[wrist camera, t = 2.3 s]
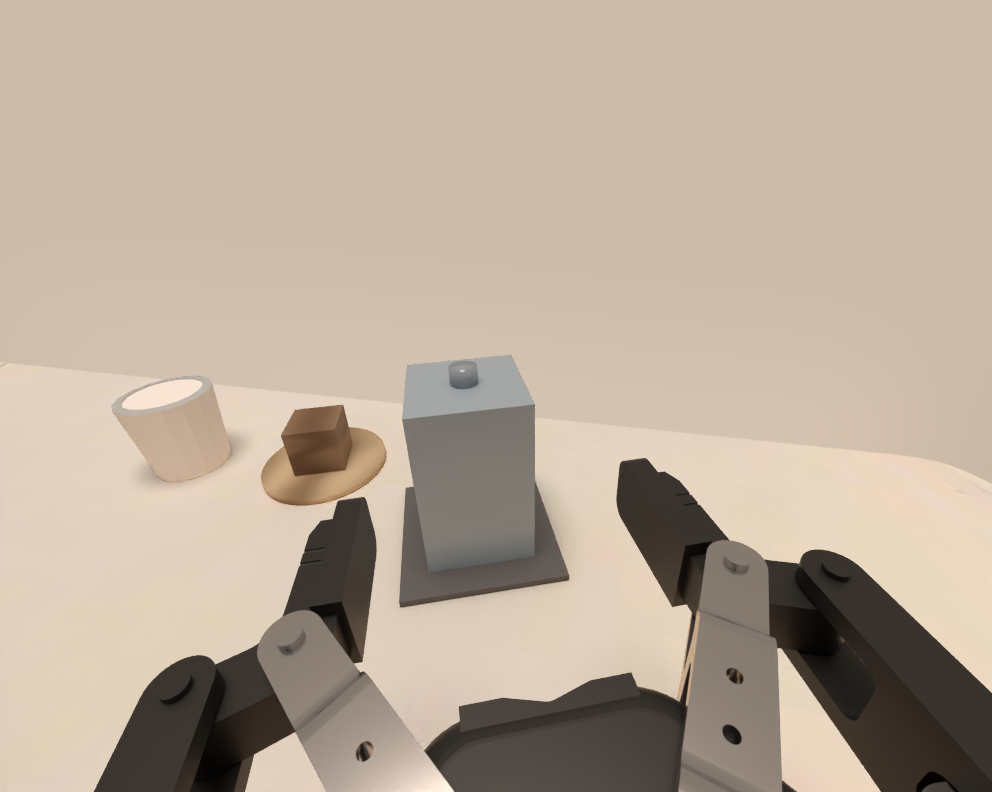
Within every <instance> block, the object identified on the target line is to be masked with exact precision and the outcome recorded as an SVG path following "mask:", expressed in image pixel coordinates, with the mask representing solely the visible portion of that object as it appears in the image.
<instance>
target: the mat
mask: <svg viewBox="0 0 992 792" xmlns="http://www.w3.org/2000/svg"><path fill="white" fill-rule="evenodd" d="M563 580H569V574H568V571H567V568H566V566H565V563H564V560H563V557H562V554H561V552H560V549H559V546H558V543H557V541H556V538H555V535H554V532H553V529H552V527H551V524H550V521H549V518H548V516H547V513H546V510H545V507H544V505H543V502H542V499H541V496H540V493H539V491H538V488H537V485H536V482H535V557H530V558H523V559H517V560H510V561H504V562H497V563H491V564H485V565H478V566H472V567H465V568H459V569H452V570H446V571H439V572H433V573H429V571H428V565H427V559H426V553H425V548H424V542H423V536H422V530H421V524H420V519H419V513H418V507H417V501H416V496H415V490H414V487H409V488H406V493H405V510H404V528H403V546H402V563H401V581H400V599H399V603H400V607H403V606H409V605H415V604H422V603H428V602H434V601H440V600H446V599H452V598H459V597H465V596H471V595H477V594H483V593H489V592H496V591H502V590H508V589H514V588H520V587H526V586H533V585H539V584H545V583H551V582H557V581H563Z"/></svg>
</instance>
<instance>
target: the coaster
mask: <svg viewBox="0 0 992 792" xmlns="http://www.w3.org/2000/svg"><path fill="white" fill-rule="evenodd" d="M349 431H350V435H351V439H352V447H351V451H350V455H349V458H348V462H347V466H346V470H343V471H335V472H327V473H319V474H311V475H303V476H295V475H294V473H293V470H292V467H291V464H290V461H289V458H288V455H287V452H286V449H285V446H284V447H283V448H281V449H280V450H279V451H277V452H276V453H275V454H274V455H273V456H272V457H271V458H270V459H269V460H268V461H267V463H266V464H265V466H264V468H263V470H262V474H261V480H262V483H263V486H264V489H265V491H266V492H267V494H268V495H269V496H270V497H271V498H273V499H275V500H277V501H279V502H282V503H286V504H293V505H309V504H317V503H323V502H327V501H331V500H334V499H337V498H340V497H342V496H345V495H347V494H349V493H351V492H353V491H355V490H357V489H359V488H360V487H362V486H364V485H365V484H366V483H368V482H369V481H370V480H371V479H372V478H373V477H375V475H376V474H377V473H378V472H379V471H380V469H381V468H382V466H383V464H384V462H385V457H386V452H385V448H384V443H383V441H382V440H381V438H380V437H379V436H377V435H376V434H374V433H373V432H370V431H368V430H364V429H360V428H350V427H349Z"/></svg>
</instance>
